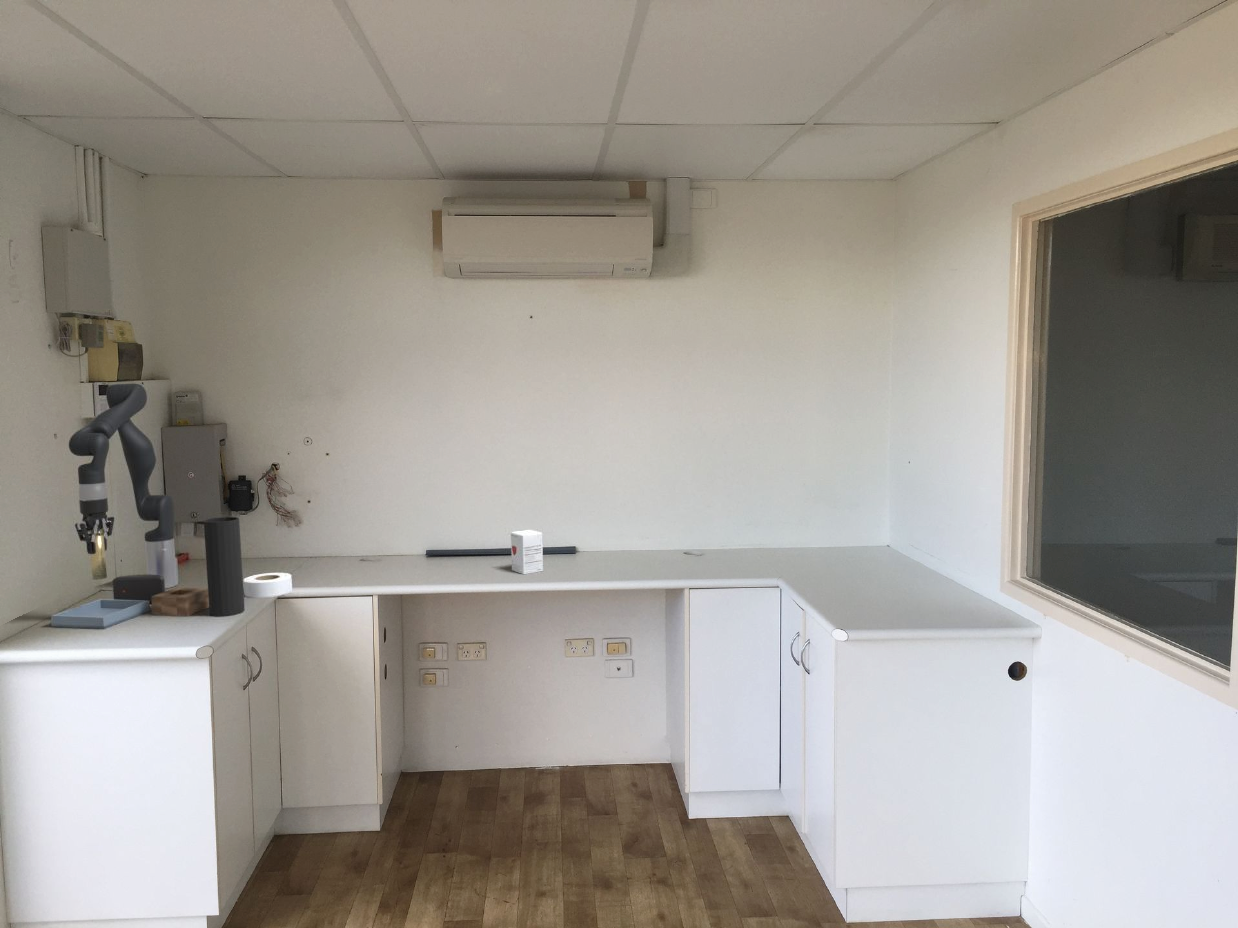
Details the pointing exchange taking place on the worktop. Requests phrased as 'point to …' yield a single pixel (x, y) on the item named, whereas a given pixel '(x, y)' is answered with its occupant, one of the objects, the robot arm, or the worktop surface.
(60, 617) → the slate tray
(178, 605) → the walnut pin block
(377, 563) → the worktop surface
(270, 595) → the roll of tape
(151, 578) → the red-dot charcoal box
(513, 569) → the supplement box
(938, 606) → the worktop surface
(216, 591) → the vase
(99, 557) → the brass pin
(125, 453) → the robot arm
